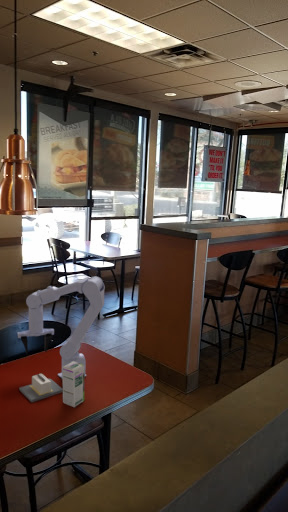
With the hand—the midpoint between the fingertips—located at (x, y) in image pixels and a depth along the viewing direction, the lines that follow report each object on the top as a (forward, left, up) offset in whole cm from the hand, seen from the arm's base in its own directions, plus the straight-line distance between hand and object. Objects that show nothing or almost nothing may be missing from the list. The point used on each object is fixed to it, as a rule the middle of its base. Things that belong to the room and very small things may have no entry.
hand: (36, 352), depth 167 cm
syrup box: (-1, +29, -10) cm, 31 cm away
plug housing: (+5, +15, -8) cm, 18 cm away
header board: (+5, +15, -9) cm, 18 cm away
